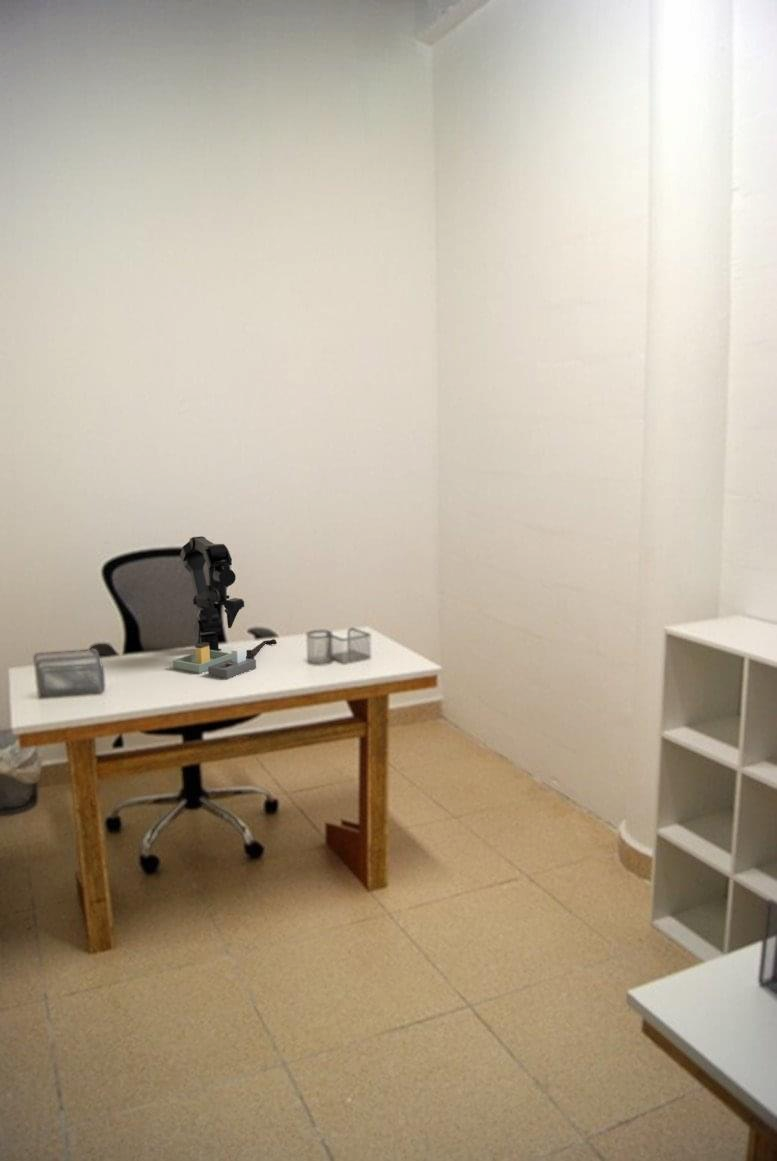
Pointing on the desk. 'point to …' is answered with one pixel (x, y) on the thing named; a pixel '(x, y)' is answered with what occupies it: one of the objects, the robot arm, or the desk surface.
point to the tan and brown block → (202, 652)
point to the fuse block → (231, 668)
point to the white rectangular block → (238, 655)
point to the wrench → (258, 648)
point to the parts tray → (190, 664)
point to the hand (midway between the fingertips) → (219, 626)
